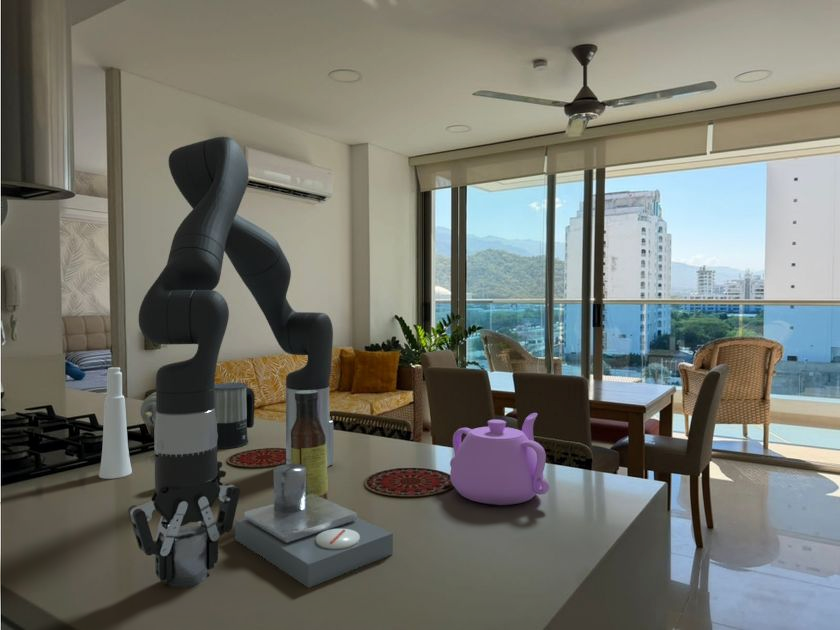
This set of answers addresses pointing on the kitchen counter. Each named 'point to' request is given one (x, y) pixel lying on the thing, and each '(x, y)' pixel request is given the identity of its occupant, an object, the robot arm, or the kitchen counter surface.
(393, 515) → the kitchen counter surface
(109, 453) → the cosmetic bottle
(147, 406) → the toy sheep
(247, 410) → the milk frother
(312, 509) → the pan
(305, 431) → the sauce bottle
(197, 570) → the cylinder
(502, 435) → the teapot
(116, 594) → the kitchen counter surface
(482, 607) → the kitchen counter surface
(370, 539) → the scale
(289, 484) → the cylinder
